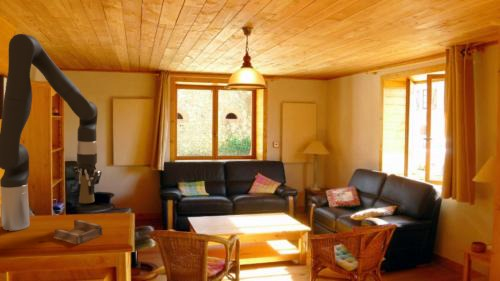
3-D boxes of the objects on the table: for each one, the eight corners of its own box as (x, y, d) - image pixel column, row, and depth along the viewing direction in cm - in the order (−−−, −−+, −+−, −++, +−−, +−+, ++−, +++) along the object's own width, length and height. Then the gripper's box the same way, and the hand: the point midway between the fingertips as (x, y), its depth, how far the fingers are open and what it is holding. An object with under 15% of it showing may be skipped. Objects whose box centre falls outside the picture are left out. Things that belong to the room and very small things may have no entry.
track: (53, 237, 151) (53, 227, 151) (78, 228, 161) (77, 219, 161) (78, 244, 146) (78, 234, 145) (102, 234, 156) (102, 224, 155)
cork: (89, 204, 162) (89, 177, 160) (75, 202, 163) (75, 175, 161) (97, 200, 167) (97, 174, 166) (84, 198, 169) (84, 172, 167)
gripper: (66, 150, 162) (66, 192, 164) (92, 155, 156) (92, 198, 158) (81, 148, 168) (81, 188, 171) (107, 152, 163) (107, 194, 165)
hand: (87, 193), depth 165 cm, fingers closed on cork, 4 cm apart
